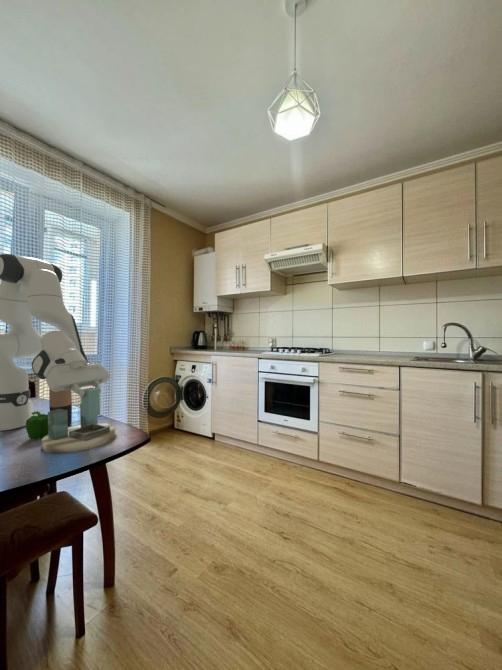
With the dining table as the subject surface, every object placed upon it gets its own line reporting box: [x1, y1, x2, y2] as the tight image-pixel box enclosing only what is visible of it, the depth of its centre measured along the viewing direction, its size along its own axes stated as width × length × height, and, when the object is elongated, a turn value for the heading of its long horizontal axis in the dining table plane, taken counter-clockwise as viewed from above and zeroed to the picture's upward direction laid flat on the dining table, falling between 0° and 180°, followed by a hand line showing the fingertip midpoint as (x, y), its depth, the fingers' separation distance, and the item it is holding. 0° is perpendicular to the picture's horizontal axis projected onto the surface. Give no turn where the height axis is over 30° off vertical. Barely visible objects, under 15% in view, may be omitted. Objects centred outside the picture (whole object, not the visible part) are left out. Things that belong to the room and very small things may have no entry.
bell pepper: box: [25, 410, 48, 441], centre depth 101 cm, size 8×8×10 cm
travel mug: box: [48, 387, 73, 427], centre depth 114 cm, size 8×8×20 cm
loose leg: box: [80, 387, 101, 417], centre depth 96 cm, size 4×4×9 cm
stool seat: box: [41, 403, 116, 454], centre depth 98 cm, size 22×22×12 cm
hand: (91, 394), depth 96 cm, fingers closed on loose leg, 4 cm apart
